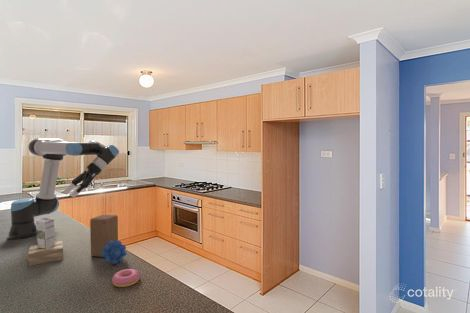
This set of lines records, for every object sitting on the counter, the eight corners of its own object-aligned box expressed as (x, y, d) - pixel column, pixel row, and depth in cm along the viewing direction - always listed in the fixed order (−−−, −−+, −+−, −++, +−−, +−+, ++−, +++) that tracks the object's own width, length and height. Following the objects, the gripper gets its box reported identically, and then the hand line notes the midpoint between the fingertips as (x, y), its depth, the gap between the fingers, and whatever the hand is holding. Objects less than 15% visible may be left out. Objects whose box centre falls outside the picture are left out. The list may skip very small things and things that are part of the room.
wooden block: (106, 258, 138) (106, 219, 137) (90, 256, 140) (89, 218, 139) (119, 250, 147) (118, 214, 147) (103, 249, 149) (102, 213, 149)
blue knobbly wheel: (105, 270, 123) (105, 245, 123) (100, 266, 128) (99, 241, 128) (130, 263, 132) (129, 239, 131) (124, 259, 136) (124, 235, 136)
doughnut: (111, 291, 106) (111, 281, 106) (112, 278, 116) (112, 269, 116) (140, 285, 110) (140, 275, 110) (139, 274, 121) (139, 265, 120)
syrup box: (56, 244, 141) (54, 218, 139) (45, 249, 135) (44, 221, 134) (47, 243, 142) (45, 217, 141) (36, 248, 136) (35, 220, 135)
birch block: (30, 257, 140) (30, 245, 140) (62, 251, 148) (61, 240, 148) (28, 266, 129) (28, 254, 128) (63, 259, 137) (62, 248, 136)
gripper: (109, 172, 151) (80, 202, 141) (94, 169, 168) (67, 196, 158) (99, 163, 147) (69, 193, 137) (84, 161, 164) (56, 188, 154)
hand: (68, 195), depth 147 cm, fingers open, 13 cm apart
